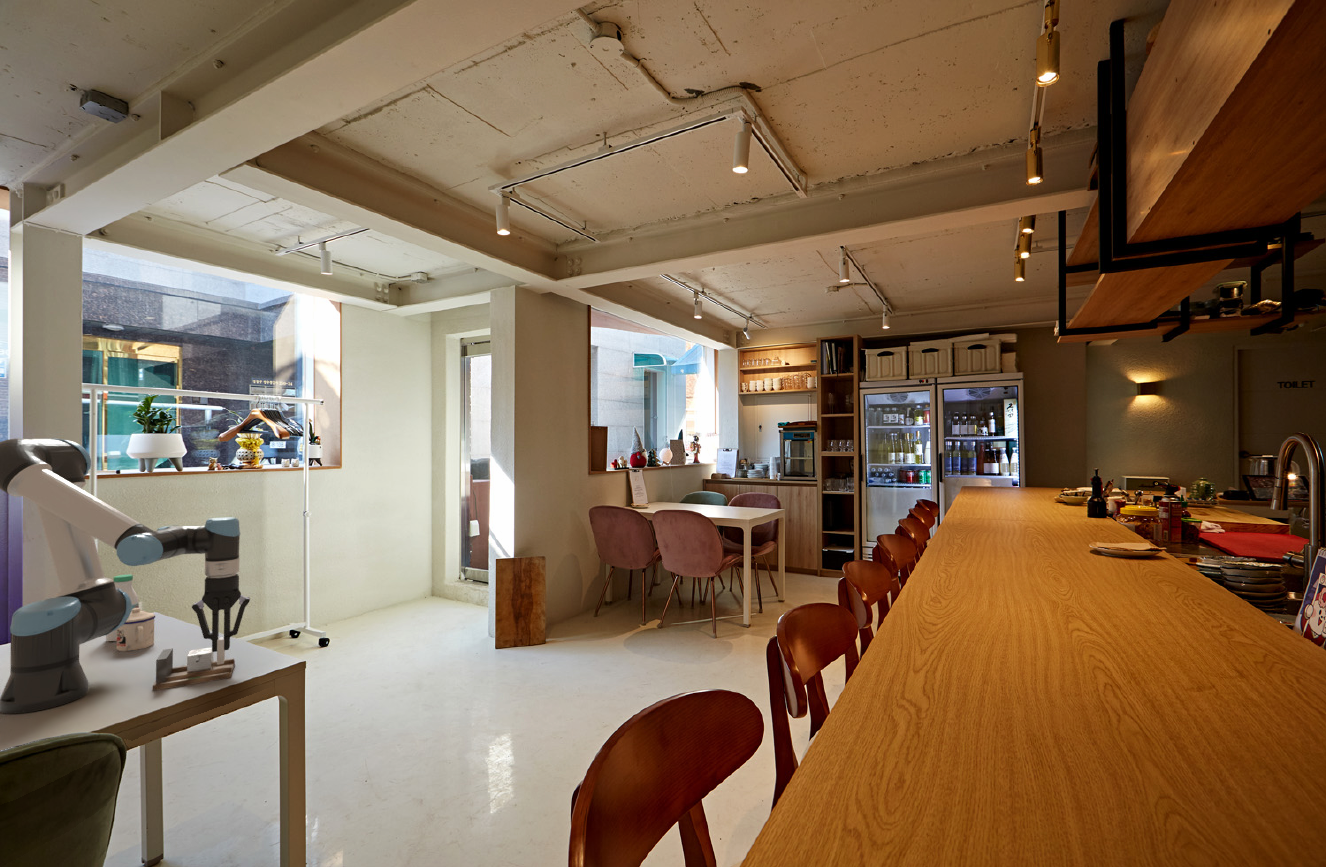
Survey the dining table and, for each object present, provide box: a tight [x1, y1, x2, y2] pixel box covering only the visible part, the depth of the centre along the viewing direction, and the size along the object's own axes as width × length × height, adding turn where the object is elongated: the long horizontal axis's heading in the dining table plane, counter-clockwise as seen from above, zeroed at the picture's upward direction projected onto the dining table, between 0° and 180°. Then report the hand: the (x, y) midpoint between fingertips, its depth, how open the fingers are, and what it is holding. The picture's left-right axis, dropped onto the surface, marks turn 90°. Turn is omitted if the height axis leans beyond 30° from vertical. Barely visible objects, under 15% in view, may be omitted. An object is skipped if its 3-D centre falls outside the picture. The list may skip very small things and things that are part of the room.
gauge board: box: [151, 648, 236, 691], centre depth 160 cm, size 16×11×7 cm
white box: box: [186, 646, 215, 674], centre depth 159 cm, size 5×9×5 cm, turn 31°
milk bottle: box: [105, 574, 140, 642], centre depth 192 cm, size 8×8×20 cm
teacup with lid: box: [116, 607, 156, 652], centre depth 183 cm, size 12×9×12 cm
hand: (220, 662), depth 163 cm, fingers closed
